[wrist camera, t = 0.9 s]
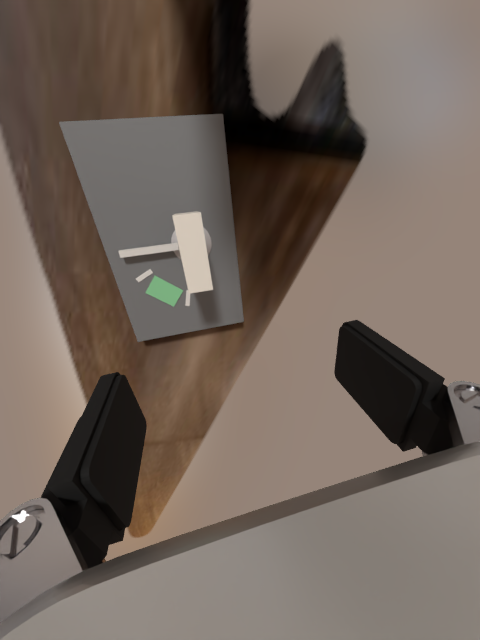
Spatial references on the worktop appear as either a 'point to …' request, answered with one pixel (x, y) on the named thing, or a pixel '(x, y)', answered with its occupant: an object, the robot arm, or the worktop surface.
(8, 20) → the worktop surface
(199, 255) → the door lever handle
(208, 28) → the worktop surface
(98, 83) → the worktop surface
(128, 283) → the dial board
